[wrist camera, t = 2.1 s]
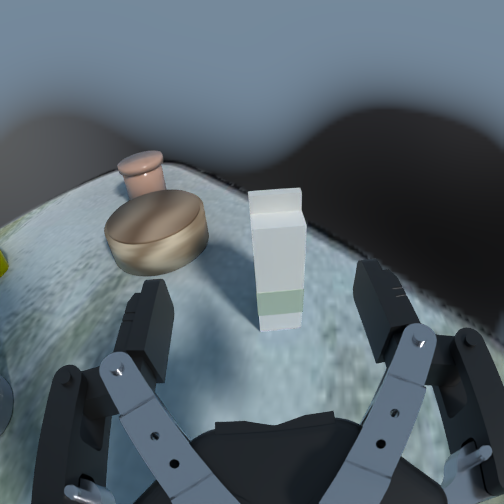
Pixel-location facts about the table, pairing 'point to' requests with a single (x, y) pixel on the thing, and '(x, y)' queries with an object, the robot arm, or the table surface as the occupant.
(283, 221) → the carton
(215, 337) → the table surface
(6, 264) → the element tile
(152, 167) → the terracotta pot
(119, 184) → the table surface
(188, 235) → the oak podium
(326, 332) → the table surface
